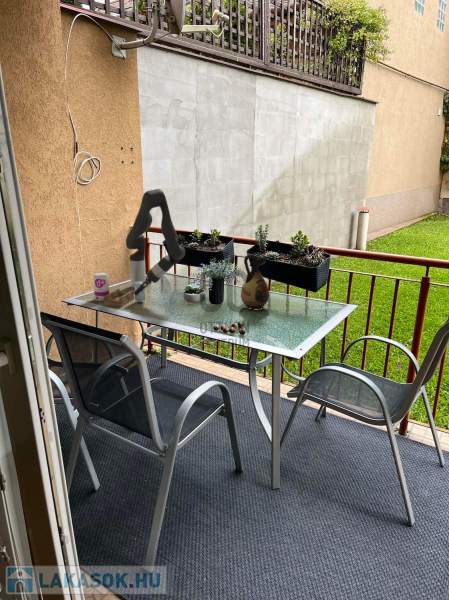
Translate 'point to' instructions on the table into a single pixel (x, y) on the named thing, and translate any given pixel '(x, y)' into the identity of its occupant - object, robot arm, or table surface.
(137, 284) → the domed pale cylinder
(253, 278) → the ceramic jug
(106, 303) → the wooden serving tray
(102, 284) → the supplement can
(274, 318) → the table surface
